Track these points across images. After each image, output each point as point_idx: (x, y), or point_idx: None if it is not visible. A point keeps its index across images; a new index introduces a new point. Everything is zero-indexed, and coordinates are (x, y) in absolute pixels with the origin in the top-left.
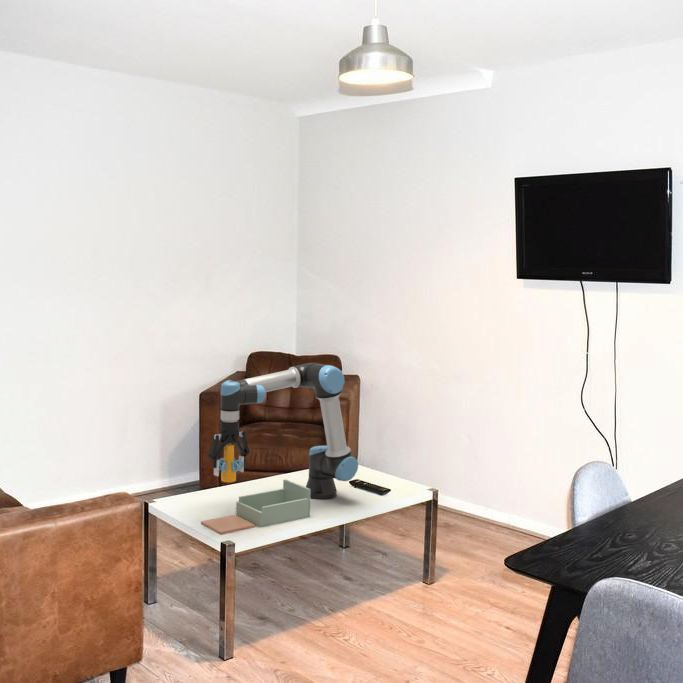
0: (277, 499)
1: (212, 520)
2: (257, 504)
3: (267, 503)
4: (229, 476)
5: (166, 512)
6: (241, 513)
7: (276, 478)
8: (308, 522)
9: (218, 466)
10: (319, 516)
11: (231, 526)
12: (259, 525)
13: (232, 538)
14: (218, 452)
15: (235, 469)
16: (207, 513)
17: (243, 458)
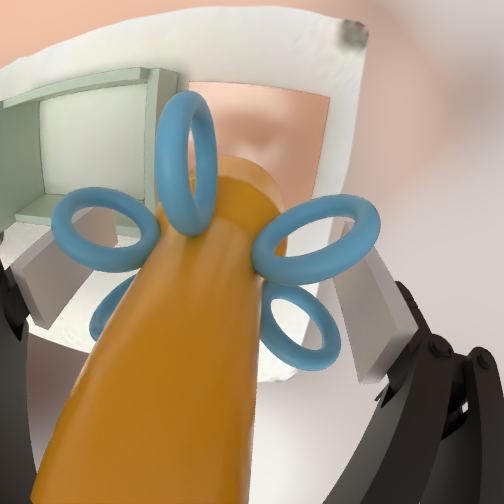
0: (44, 204)
1: None
2: None
3: None
4: (256, 175)
5: (303, 333)
6: None
7: (31, 327)
8: (59, 53)
9: (377, 273)
10: (23, 87)
11: (264, 115)
12: (176, 76)
13: (322, 47)
14: (438, 435)
15: (157, 214)
16: None
17: (25, 253)
